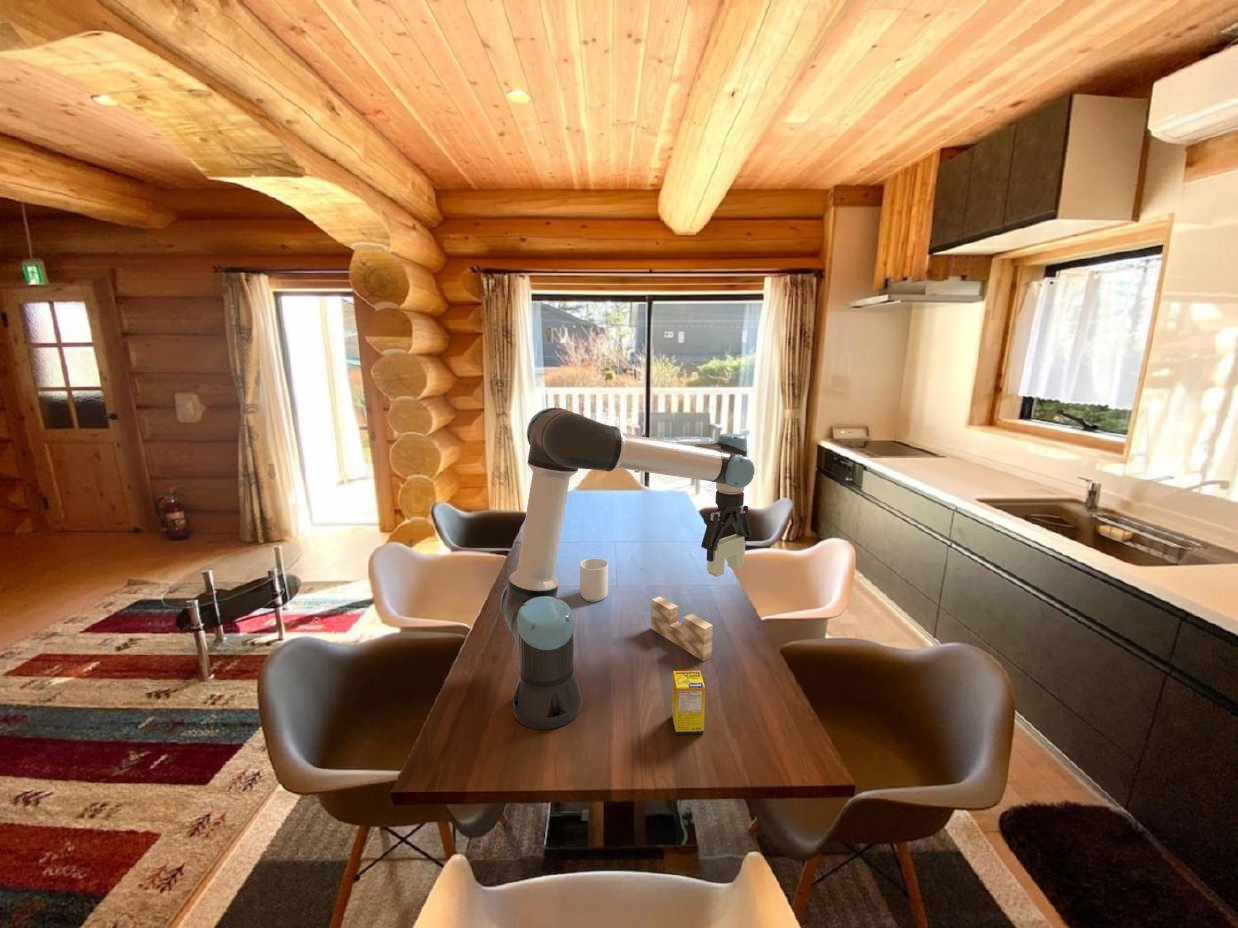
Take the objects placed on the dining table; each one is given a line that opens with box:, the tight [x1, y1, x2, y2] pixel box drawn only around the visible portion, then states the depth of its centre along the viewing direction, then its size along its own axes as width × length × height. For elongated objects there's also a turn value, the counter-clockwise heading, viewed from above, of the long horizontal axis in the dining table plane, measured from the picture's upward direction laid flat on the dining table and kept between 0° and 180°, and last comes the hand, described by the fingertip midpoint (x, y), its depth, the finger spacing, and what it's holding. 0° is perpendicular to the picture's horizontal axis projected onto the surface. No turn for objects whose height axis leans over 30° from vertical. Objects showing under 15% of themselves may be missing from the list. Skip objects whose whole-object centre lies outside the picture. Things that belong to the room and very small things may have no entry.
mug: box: [579, 558, 609, 603], centre depth 166 cm, size 12×9×11 cm
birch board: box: [650, 595, 714, 662], centre depth 139 cm, size 20×3×9 cm, turn 38°
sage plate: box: [707, 533, 744, 577], centre depth 144 cm, size 11×3×9 cm, turn 128°
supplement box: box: [671, 670, 706, 736], centre depth 107 cm, size 6×6×11 cm
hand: (725, 566), depth 145 cm, fingers closed on sage plate, 11 cm apart
